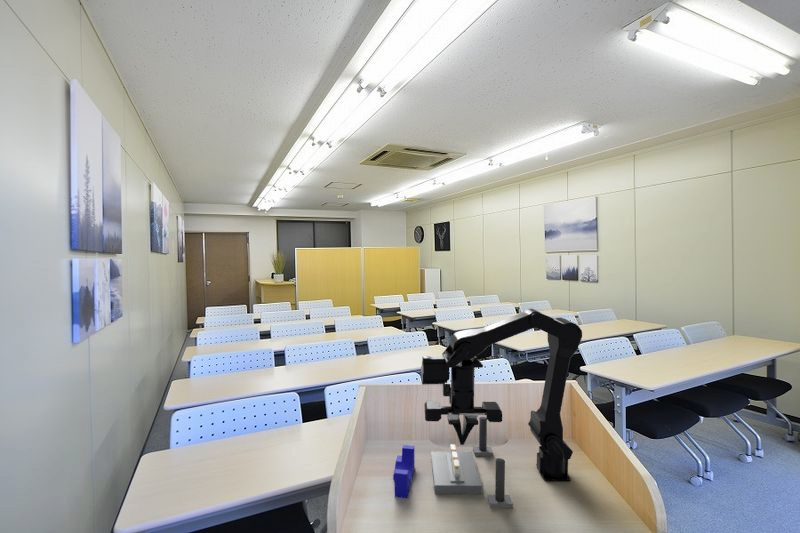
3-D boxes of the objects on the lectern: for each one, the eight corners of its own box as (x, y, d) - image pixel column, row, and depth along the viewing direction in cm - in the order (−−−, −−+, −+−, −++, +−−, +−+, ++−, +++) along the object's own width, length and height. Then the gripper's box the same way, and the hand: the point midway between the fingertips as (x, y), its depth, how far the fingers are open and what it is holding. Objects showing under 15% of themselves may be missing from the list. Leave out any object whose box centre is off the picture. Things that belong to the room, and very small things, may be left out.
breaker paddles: (454, 454, 101) (454, 443, 100) (459, 478, 91) (459, 466, 90) (450, 454, 101) (450, 443, 100) (454, 478, 91) (454, 466, 90)
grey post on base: (490, 449, 107) (491, 415, 106) (492, 456, 104) (493, 420, 103) (472, 449, 107) (473, 415, 106) (474, 455, 104) (474, 420, 103)
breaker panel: (471, 458, 103) (472, 450, 103) (481, 493, 89) (481, 484, 89) (431, 458, 103) (431, 450, 103) (434, 493, 89) (434, 484, 89)
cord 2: (509, 498, 87) (509, 457, 86) (512, 508, 84) (513, 465, 83) (487, 498, 87) (487, 456, 86) (490, 507, 84) (490, 464, 83)
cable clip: (397, 466, 100) (397, 444, 100) (414, 467, 99) (414, 445, 99) (388, 496, 88) (388, 472, 88) (407, 499, 88) (407, 474, 87)
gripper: (493, 372, 102) (492, 428, 103) (423, 371, 102) (423, 427, 103) (503, 389, 91) (502, 451, 92) (425, 388, 91) (425, 450, 92)
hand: (461, 444), depth 95 cm, fingers closed
